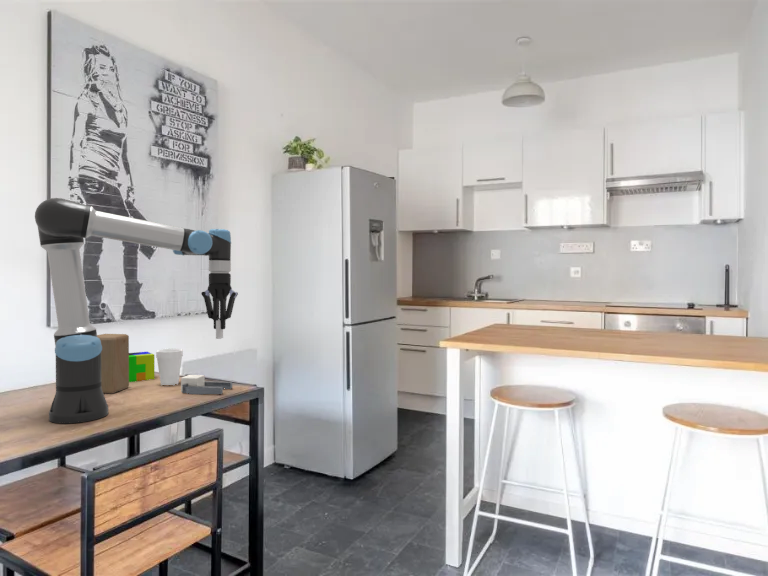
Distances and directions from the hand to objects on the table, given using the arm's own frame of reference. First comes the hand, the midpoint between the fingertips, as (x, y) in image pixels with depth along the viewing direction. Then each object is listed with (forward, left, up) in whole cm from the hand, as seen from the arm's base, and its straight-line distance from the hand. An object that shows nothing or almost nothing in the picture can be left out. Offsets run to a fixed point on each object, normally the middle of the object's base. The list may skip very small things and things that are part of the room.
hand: (219, 338), depth 187 cm
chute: (0, +4, -19) cm, 20 cm away
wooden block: (-4, +40, -20) cm, 45 cm away
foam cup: (+9, +24, -20) cm, 32 cm away
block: (0, +10, -19) cm, 22 cm away
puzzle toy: (+17, +42, -20) cm, 49 cm away
